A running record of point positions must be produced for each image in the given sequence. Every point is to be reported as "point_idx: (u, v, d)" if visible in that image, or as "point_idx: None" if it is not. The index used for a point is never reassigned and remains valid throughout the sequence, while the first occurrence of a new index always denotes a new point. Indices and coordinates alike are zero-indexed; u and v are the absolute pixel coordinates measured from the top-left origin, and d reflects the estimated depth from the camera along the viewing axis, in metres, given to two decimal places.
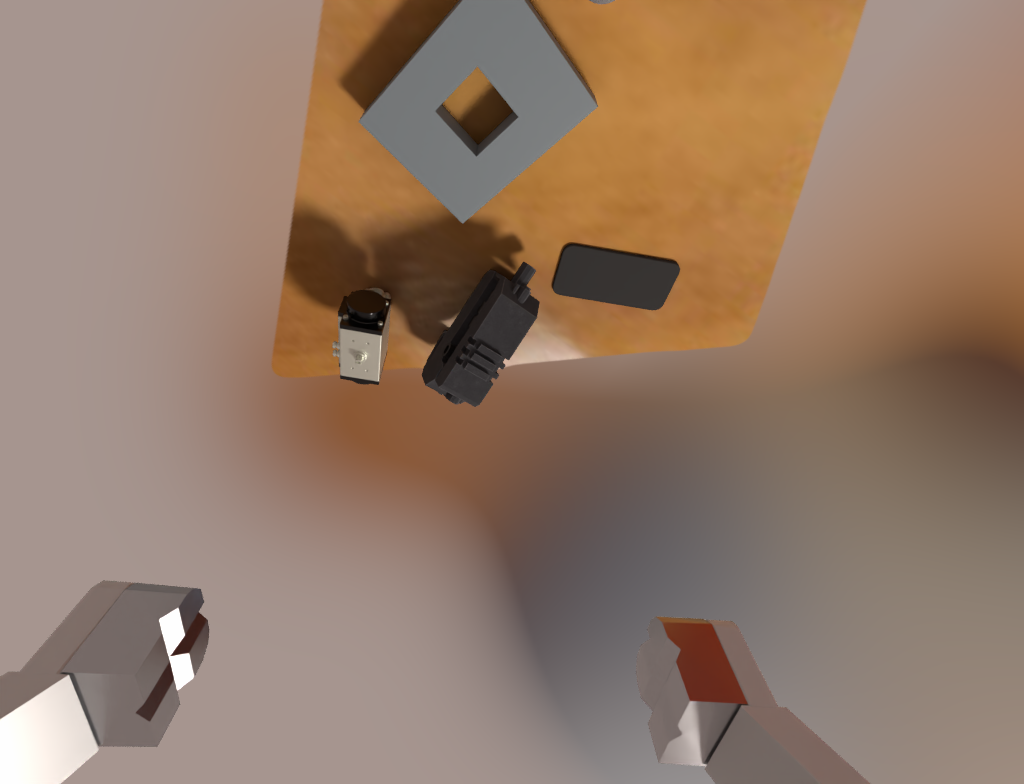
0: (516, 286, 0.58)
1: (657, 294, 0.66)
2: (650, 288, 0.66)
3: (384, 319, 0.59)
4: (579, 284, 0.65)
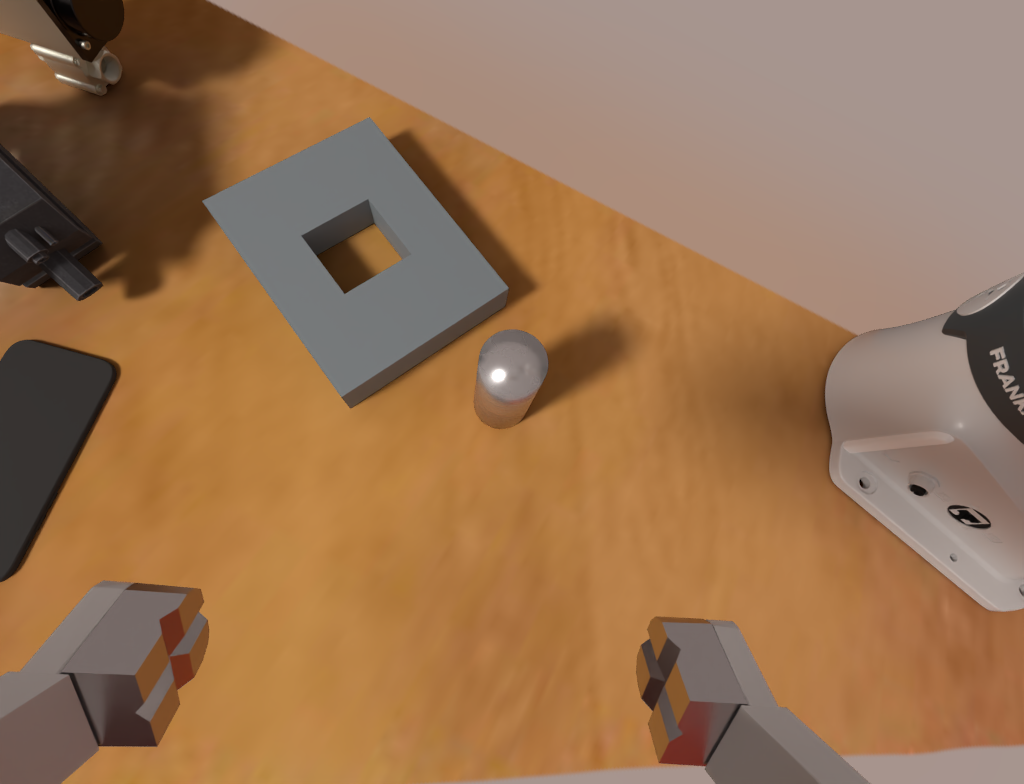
0: (50, 237, 0.31)
1: None
2: None
3: (50, 7, 0.33)
4: (19, 387, 0.34)
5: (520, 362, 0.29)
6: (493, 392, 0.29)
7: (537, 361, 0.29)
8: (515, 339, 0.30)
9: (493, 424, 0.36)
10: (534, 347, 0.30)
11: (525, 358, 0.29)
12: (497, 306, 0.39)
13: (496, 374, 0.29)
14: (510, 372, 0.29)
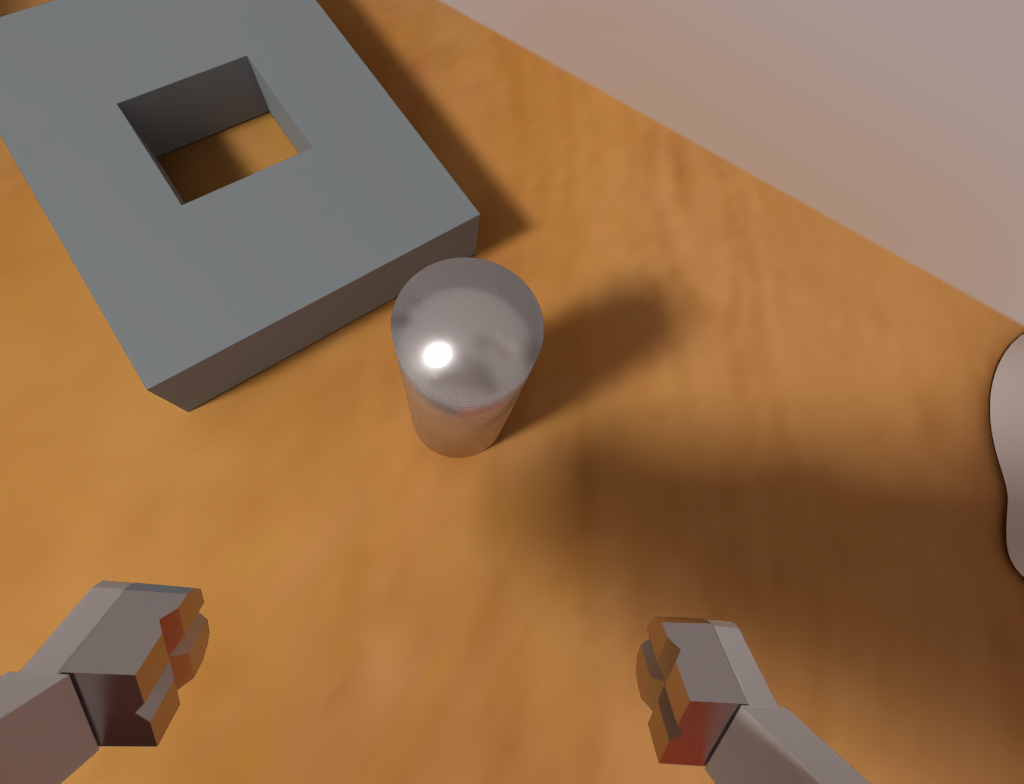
0: None
1: None
2: None
3: None
4: None
5: (483, 325, 0.13)
6: (421, 388, 0.13)
7: (519, 325, 0.14)
8: (475, 278, 0.14)
9: (441, 450, 0.20)
10: (515, 296, 0.14)
11: (495, 318, 0.14)
12: (462, 250, 0.23)
13: (428, 349, 0.13)
14: (459, 347, 0.13)
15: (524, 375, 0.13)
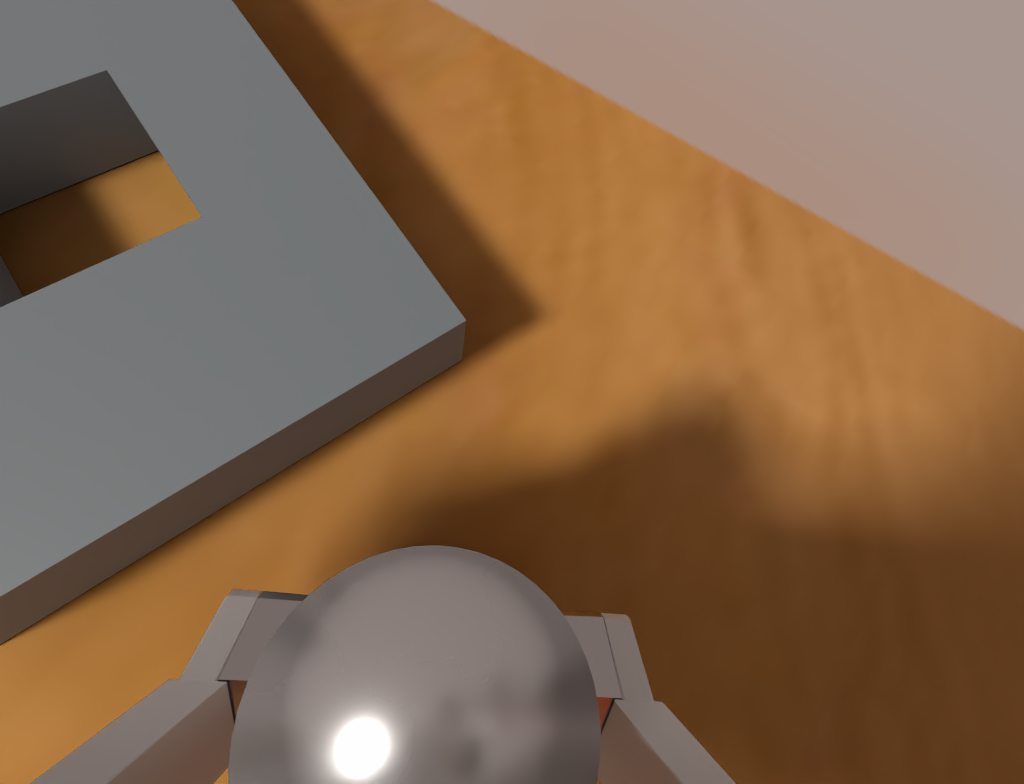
0: None
1: None
2: None
3: None
4: None
5: (457, 735, 0.06)
6: None
7: (543, 725, 0.06)
8: (440, 601, 0.06)
9: None
10: (533, 643, 0.06)
11: (487, 709, 0.06)
12: (440, 362, 0.15)
13: None
14: None
15: None
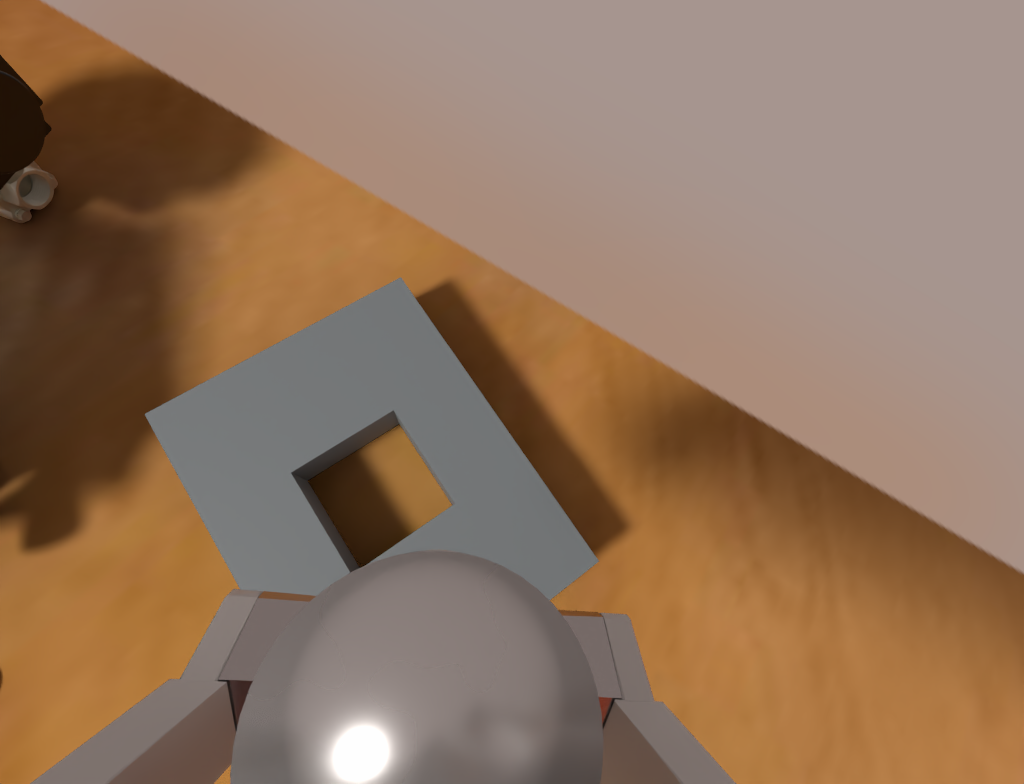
0: None
1: None
2: None
3: None
4: None
5: (459, 741, 0.06)
6: None
7: (546, 730, 0.06)
8: (442, 606, 0.06)
9: None
10: (536, 649, 0.06)
11: (489, 716, 0.06)
12: None
13: None
14: None
15: None
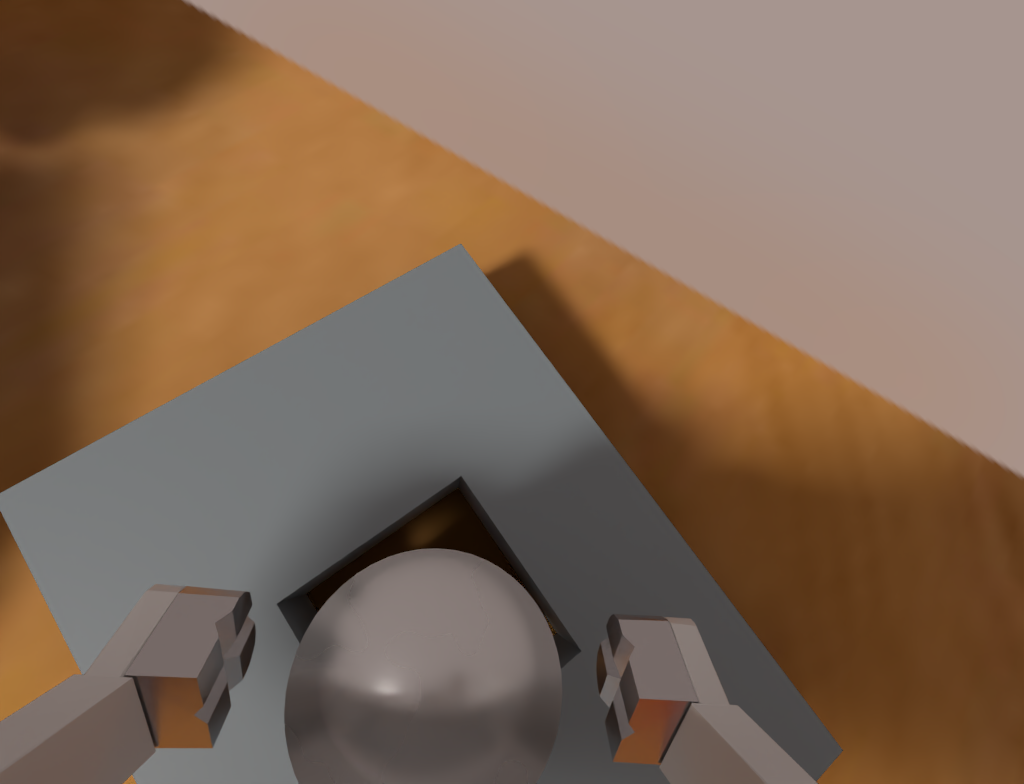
0: None
1: None
2: None
3: None
4: None
5: (454, 691, 0.08)
6: None
7: (519, 684, 0.08)
8: (441, 590, 0.08)
9: None
10: (512, 623, 0.08)
11: (475, 672, 0.08)
12: None
13: (352, 755, 0.07)
14: (409, 745, 0.07)
15: None
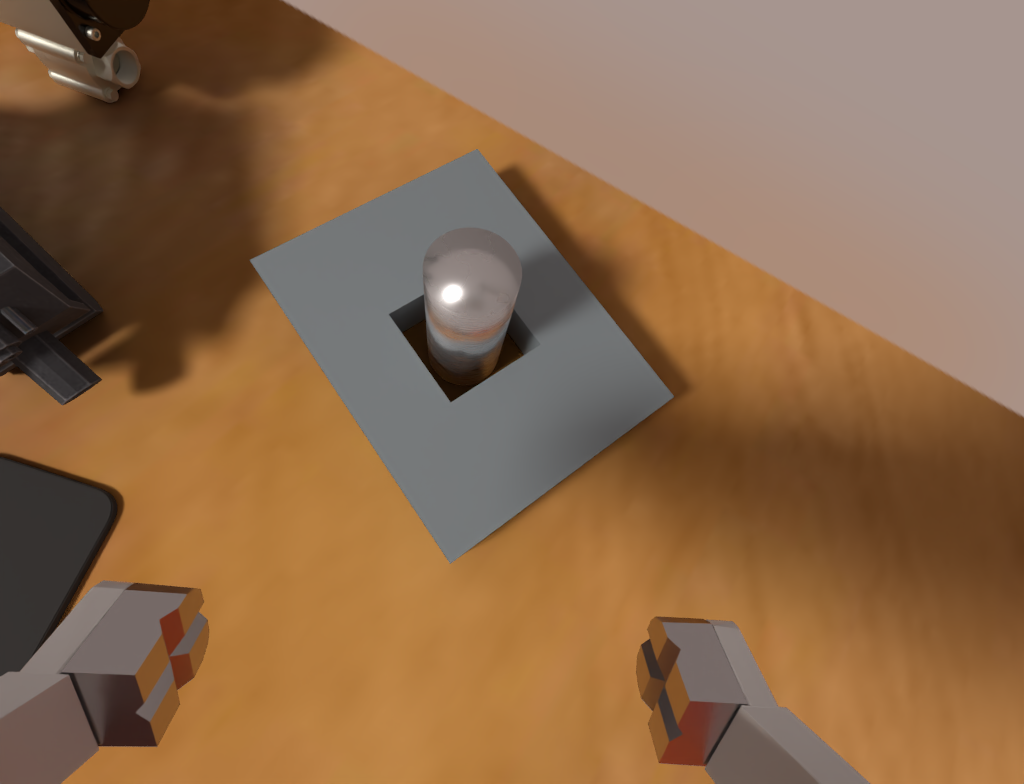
0: (26, 323, 0.20)
1: None
2: None
3: None
4: None
5: (482, 271, 0.21)
6: (442, 312, 0.21)
7: (506, 271, 0.21)
8: (476, 241, 0.21)
9: (451, 377, 0.28)
10: (503, 253, 0.21)
11: (490, 266, 0.21)
12: None
13: (446, 285, 0.20)
14: (466, 285, 0.20)
15: (509, 303, 0.20)
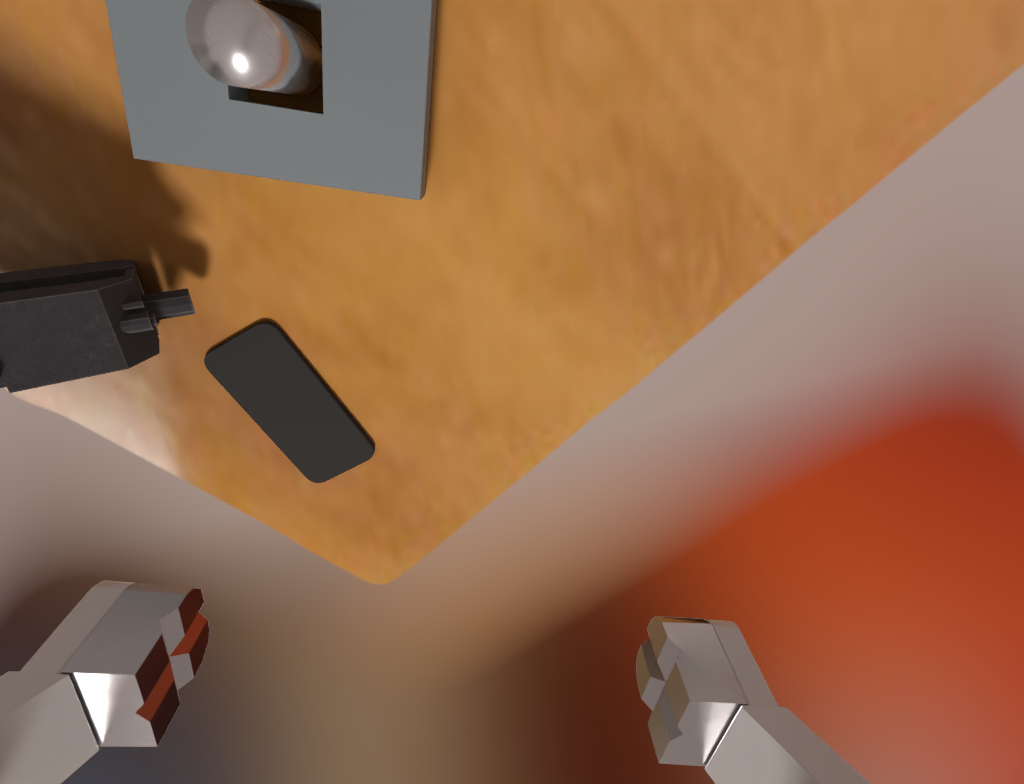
0: (137, 303, 0.33)
1: (327, 465, 0.47)
2: (325, 452, 0.46)
3: None
4: (245, 379, 0.43)
5: (233, 32, 0.25)
6: (251, 86, 0.26)
7: (242, 14, 0.24)
8: (204, 12, 0.24)
9: (306, 90, 0.33)
10: (225, 0, 0.24)
11: (232, 22, 0.25)
12: None
13: (232, 69, 0.25)
14: (238, 54, 0.25)
15: (270, 35, 0.25)
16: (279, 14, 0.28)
